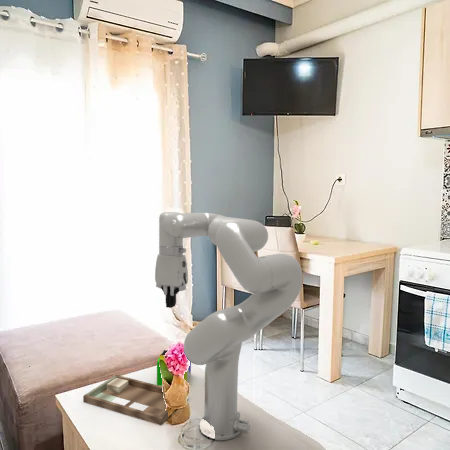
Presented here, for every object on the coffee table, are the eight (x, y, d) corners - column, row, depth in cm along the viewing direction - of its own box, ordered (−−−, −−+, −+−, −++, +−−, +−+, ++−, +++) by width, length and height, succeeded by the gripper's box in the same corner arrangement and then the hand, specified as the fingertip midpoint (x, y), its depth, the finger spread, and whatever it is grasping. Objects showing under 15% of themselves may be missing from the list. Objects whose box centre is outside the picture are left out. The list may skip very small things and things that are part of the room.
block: (128, 387, 138) (128, 380, 137) (118, 394, 133) (118, 387, 133) (116, 384, 140) (116, 377, 139) (106, 391, 135) (106, 383, 135)
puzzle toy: (190, 377, 149) (190, 351, 148) (185, 391, 139) (185, 363, 138) (164, 376, 150) (164, 350, 149) (156, 389, 140) (156, 361, 139)
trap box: (188, 403, 131) (188, 393, 131) (160, 430, 117) (160, 418, 116) (116, 384, 143) (116, 374, 143) (83, 406, 128) (83, 395, 128)
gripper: (197, 251, 130) (196, 306, 132) (157, 247, 136) (157, 300, 138) (185, 254, 123) (185, 313, 125) (144, 250, 129) (144, 306, 131)
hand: (170, 306), depth 131 cm, fingers closed
